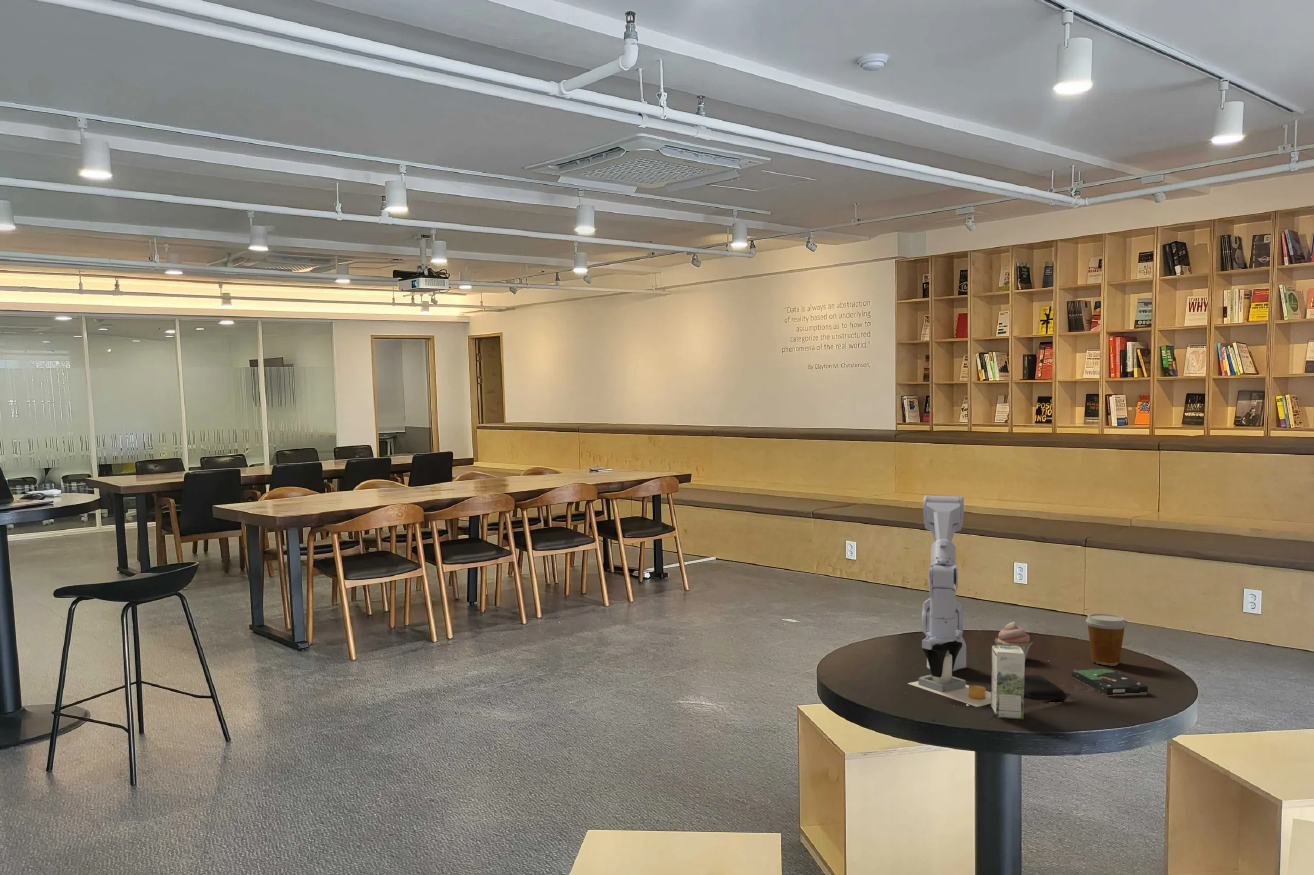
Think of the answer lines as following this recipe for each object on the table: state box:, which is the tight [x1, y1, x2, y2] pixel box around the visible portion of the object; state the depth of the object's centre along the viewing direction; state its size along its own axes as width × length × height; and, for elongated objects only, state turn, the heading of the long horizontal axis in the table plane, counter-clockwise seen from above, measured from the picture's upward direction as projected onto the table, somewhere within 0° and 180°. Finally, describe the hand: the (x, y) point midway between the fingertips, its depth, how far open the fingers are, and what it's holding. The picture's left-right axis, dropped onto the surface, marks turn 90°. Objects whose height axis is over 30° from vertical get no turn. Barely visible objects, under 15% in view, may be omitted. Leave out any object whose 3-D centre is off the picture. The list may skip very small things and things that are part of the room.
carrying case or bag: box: [1024, 674, 1068, 704], centre depth 212 cm, size 11×3×15 cm
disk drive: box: [1071, 667, 1149, 695], centre depth 218 cm, size 10×3×15 cm
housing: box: [907, 674, 991, 708], centre depth 211 cm, size 11×20×2 cm, turn 32°
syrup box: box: [990, 644, 1026, 720], centre depth 197 cm, size 6×6×14 cm
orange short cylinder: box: [969, 684, 987, 699], centre depth 207 cm, size 4×4×2 cm
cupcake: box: [994, 621, 1034, 661], centre depth 242 cm, size 9×9×10 cm
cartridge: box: [932, 650, 953, 685], centre depth 215 cm, size 4×4×8 cm
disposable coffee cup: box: [1085, 613, 1128, 663], centre depth 238 cm, size 10×10×12 cm
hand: (942, 674), depth 215 cm, fingers closed on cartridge, 4 cm apart
